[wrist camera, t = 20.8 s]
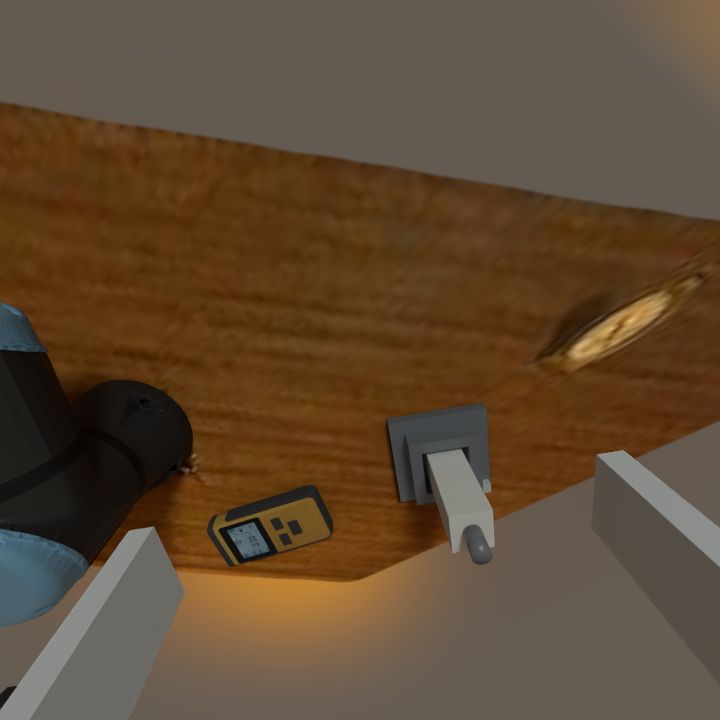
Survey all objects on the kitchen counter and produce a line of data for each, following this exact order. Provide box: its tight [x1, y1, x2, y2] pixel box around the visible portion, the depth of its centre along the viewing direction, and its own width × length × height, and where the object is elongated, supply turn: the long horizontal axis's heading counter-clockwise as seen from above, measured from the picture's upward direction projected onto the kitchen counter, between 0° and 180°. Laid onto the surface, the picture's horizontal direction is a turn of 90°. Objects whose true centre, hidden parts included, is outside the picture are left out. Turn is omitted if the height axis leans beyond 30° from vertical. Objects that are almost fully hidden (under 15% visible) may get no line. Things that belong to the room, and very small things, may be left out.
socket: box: [387, 403, 491, 505], centre depth 49 cm, size 13×13×4 cm
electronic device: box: [207, 485, 333, 567], centre depth 53 cm, size 9×16×4 cm, turn 109°
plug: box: [425, 448, 495, 565], centre depth 42 cm, size 4×5×16 cm
